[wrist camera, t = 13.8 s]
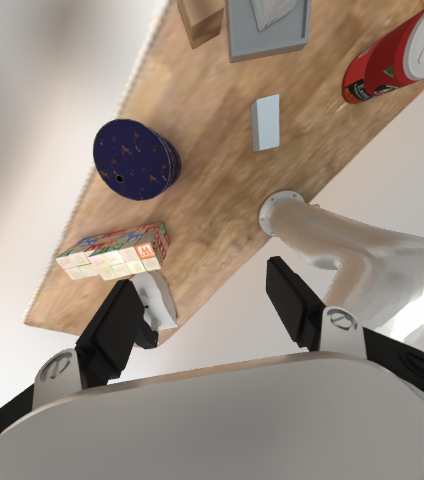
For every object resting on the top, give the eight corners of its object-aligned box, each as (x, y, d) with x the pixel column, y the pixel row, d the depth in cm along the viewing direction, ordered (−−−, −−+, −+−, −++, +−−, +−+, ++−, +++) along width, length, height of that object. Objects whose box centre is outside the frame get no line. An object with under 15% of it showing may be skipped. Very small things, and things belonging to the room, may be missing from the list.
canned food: (333, 100, 31) (396, 71, 21) (355, 43, 27) (443, -23, 18) (364, 108, 32) (438, 84, 22) (389, 55, 29) (490, -1, 19)
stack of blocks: (96, 257, 42) (61, 290, 31) (83, 238, 40) (39, 266, 29) (170, 241, 42) (161, 269, 31) (163, 221, 39) (149, 243, 28)
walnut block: (206, -12, 23) (209, -53, 19) (219, 34, 26) (223, 7, 21) (178, 7, 24) (173, -29, 19) (192, 50, 26) (191, 26, 22)
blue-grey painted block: (249, 106, 30) (256, 99, 27) (269, 102, 30) (278, 93, 27) (253, 151, 34) (259, 150, 30) (270, 147, 34) (279, 145, 30)
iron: (150, 321, 56) (135, 371, 43) (123, 270, 45) (93, 315, 32) (179, 316, 56) (173, 364, 43) (160, 264, 45) (144, 306, 32)
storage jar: (156, 125, 30) (125, 94, 17) (190, 167, 34) (186, 169, 21) (125, 160, 33) (75, 158, 19) (160, 196, 36) (139, 215, 23)
